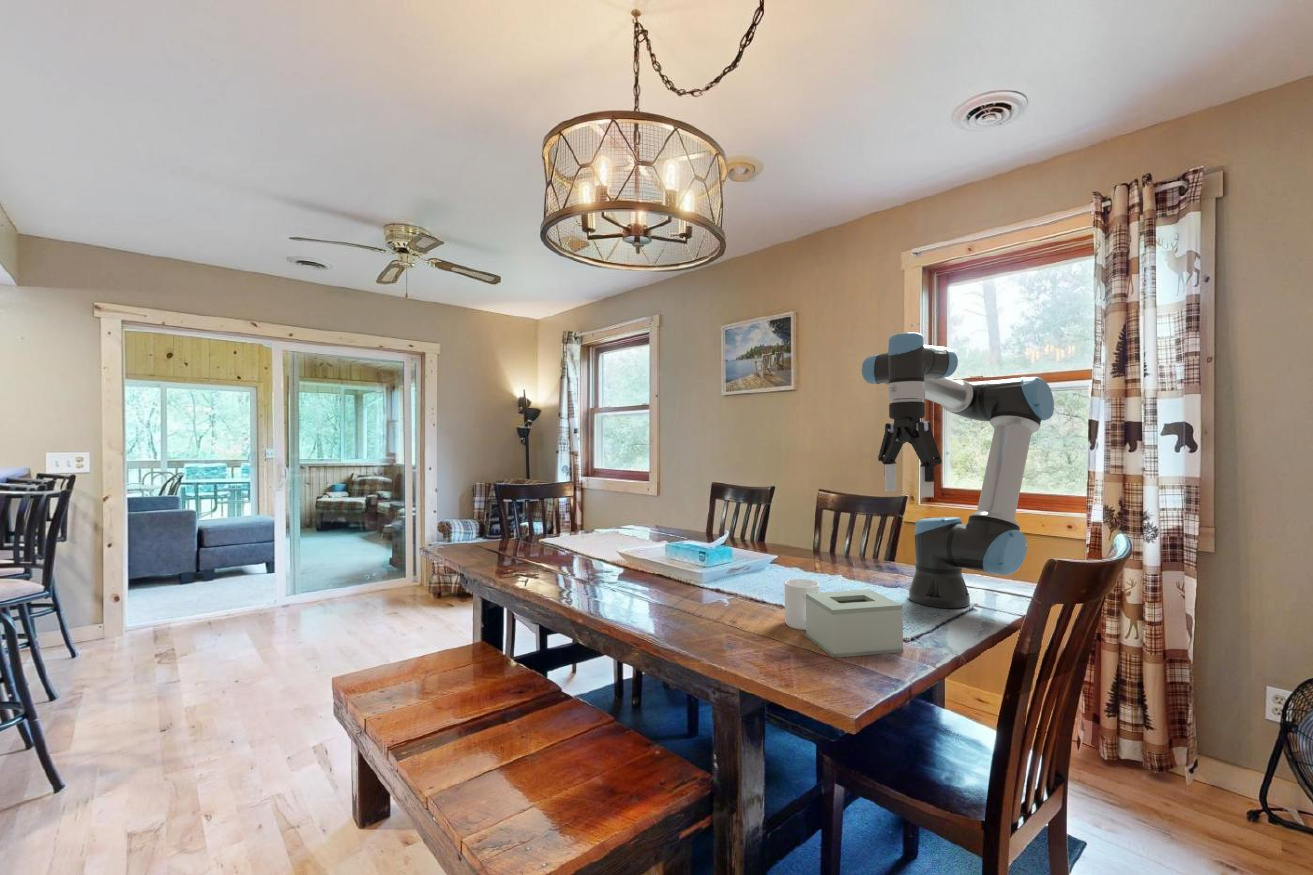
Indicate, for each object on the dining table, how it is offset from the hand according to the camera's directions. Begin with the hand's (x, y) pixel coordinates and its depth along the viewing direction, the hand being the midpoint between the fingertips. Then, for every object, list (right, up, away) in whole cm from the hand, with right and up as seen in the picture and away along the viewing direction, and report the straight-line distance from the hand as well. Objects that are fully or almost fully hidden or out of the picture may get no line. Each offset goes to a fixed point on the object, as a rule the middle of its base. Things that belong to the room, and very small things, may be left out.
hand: (907, 494), depth 130 cm
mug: (-22, -33, +7) cm, 40 cm away
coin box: (-14, -33, -4) cm, 36 cm away
